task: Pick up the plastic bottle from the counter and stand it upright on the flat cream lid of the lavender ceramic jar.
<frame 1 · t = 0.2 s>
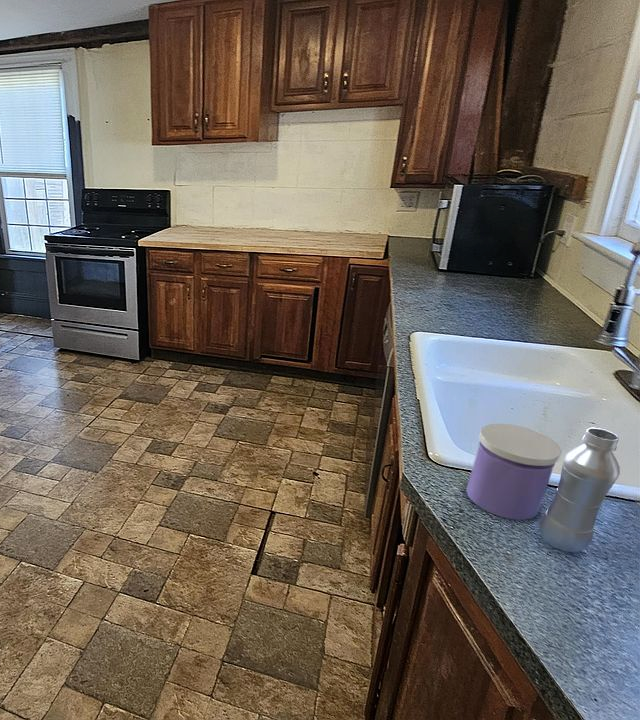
jar: (501, 499, 94), on the worktop
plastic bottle: (560, 544, 84), on the worktop
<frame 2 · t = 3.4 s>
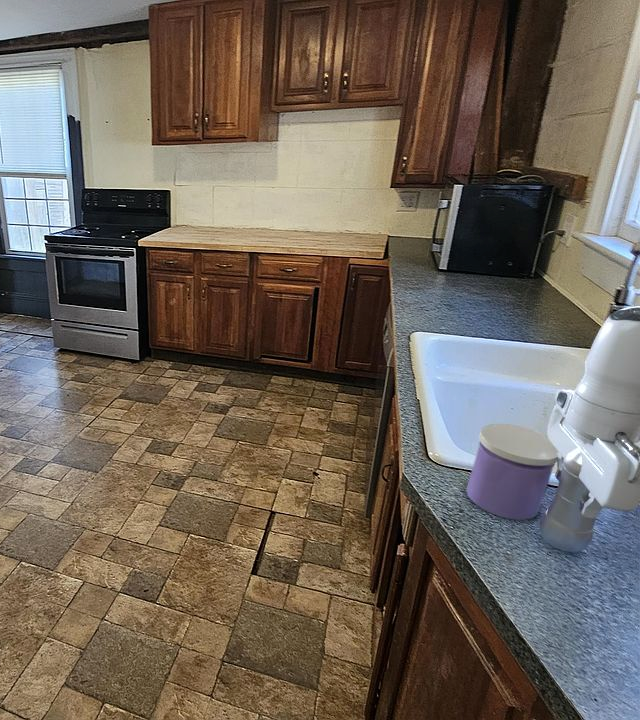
hand: (574, 497, 81), 9 cm above the worktop, tool pointing down, fingers open, 7 cm apart
nothing on the worktop moved.
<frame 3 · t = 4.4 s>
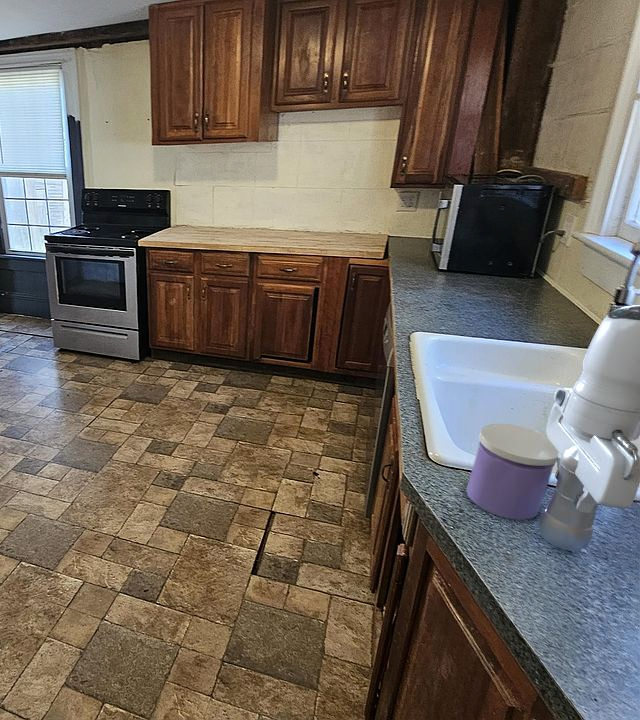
hand: (571, 494, 81), 9 cm above the worktop, tool pointing down, fingers closed on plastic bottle, 6 cm apart
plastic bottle: (560, 543, 84), on the worktop, touching arm, gripper
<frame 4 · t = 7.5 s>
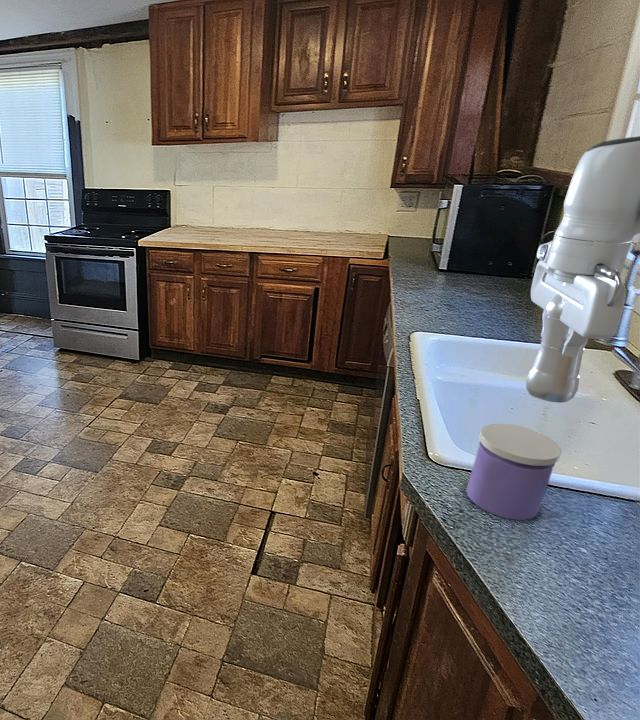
hand: (557, 347, 81), 30 cm above the worktop, tool pointing down, fingers closed on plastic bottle, 6 cm apart
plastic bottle: (547, 400, 84), point 21 cm above the worktop, touching arm, gripper
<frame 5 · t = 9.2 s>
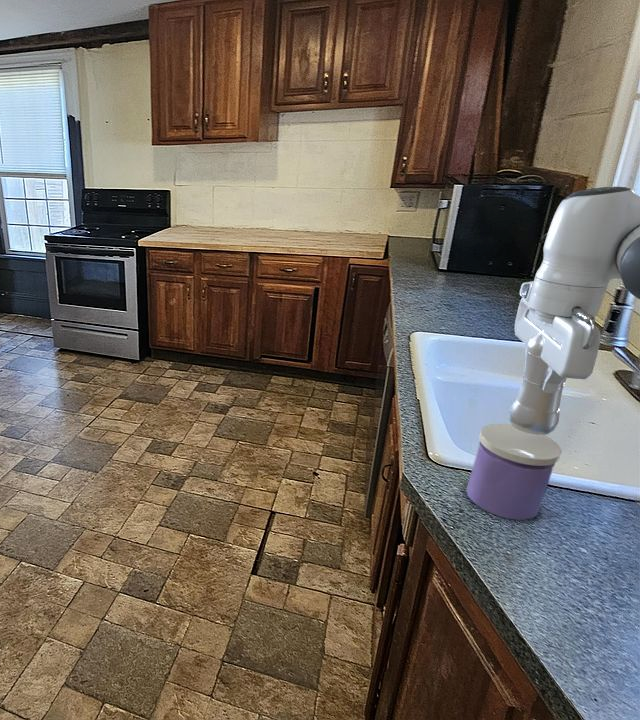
hand: (538, 381, 85), 23 cm above the worktop, tool pointing down, fingers closed on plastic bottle, 6 cm apart
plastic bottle: (529, 431, 88), point 14 cm above the worktop, touching arm, gripper
when the fingers open (21 cm above the worktop, at t = 10.4 s): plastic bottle stays where it is, resting on jar.
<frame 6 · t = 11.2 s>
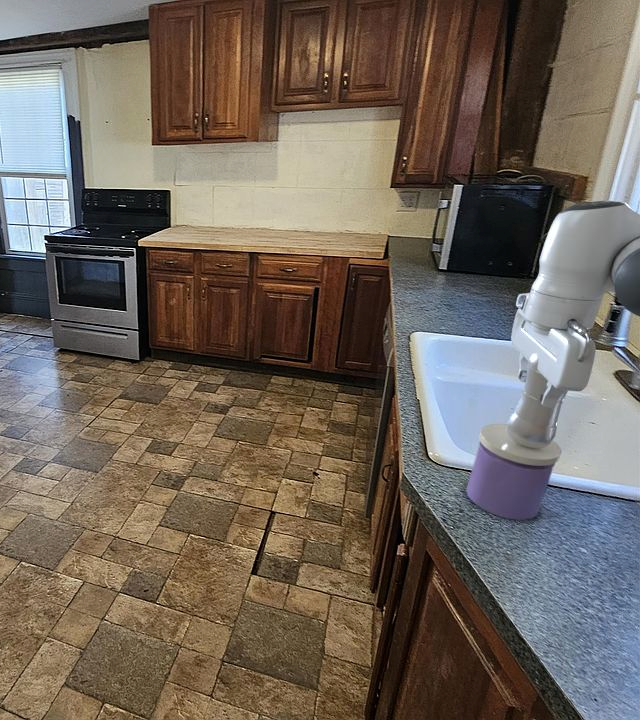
hand: (534, 392, 86), 21 cm above the worktop, tool pointing down, fingers open, 8 cm apart
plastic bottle: (526, 443, 89), point 12 cm above the worktop, touching jar
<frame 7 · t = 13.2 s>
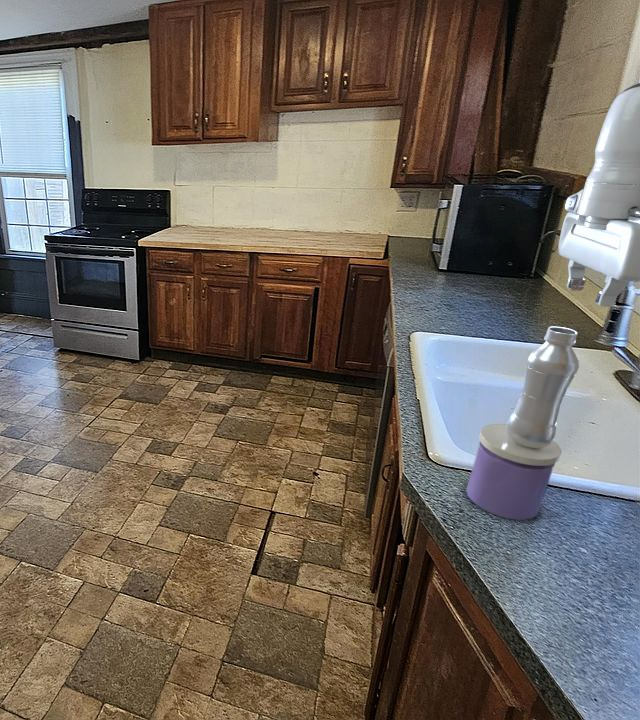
hand: (588, 297, 81), 37 cm above the worktop, tool pointing down, fingers open, 8 cm apart
nothing on the worktop moved.
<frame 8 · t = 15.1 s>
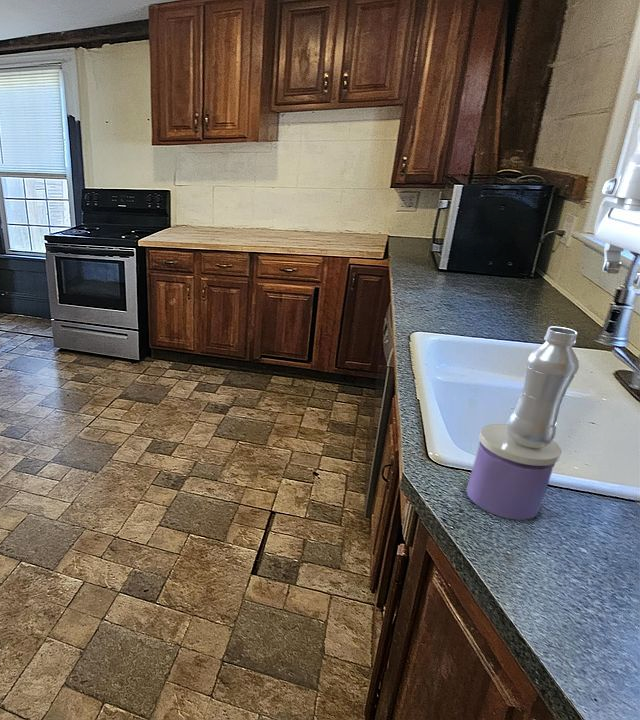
hand: (625, 279, 83), 39 cm above the worktop, tool pointing down, fingers open, 8 cm apart
nothing on the worktop moved.
at the end: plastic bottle 1.0 cm off-centre on the jar, point 12.0 cm above the jar's base; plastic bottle tilted 0°; the gripper is holding nothing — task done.
